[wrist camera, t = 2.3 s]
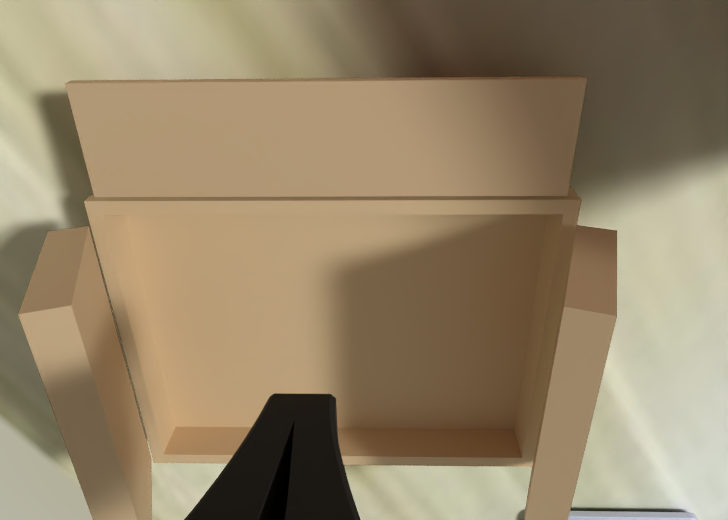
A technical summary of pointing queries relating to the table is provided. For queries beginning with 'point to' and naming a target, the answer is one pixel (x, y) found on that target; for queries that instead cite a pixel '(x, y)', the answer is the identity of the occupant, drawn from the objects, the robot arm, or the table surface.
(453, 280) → the carton
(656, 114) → the table surface
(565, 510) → the flap right
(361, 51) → the table surface
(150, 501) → the flap left
